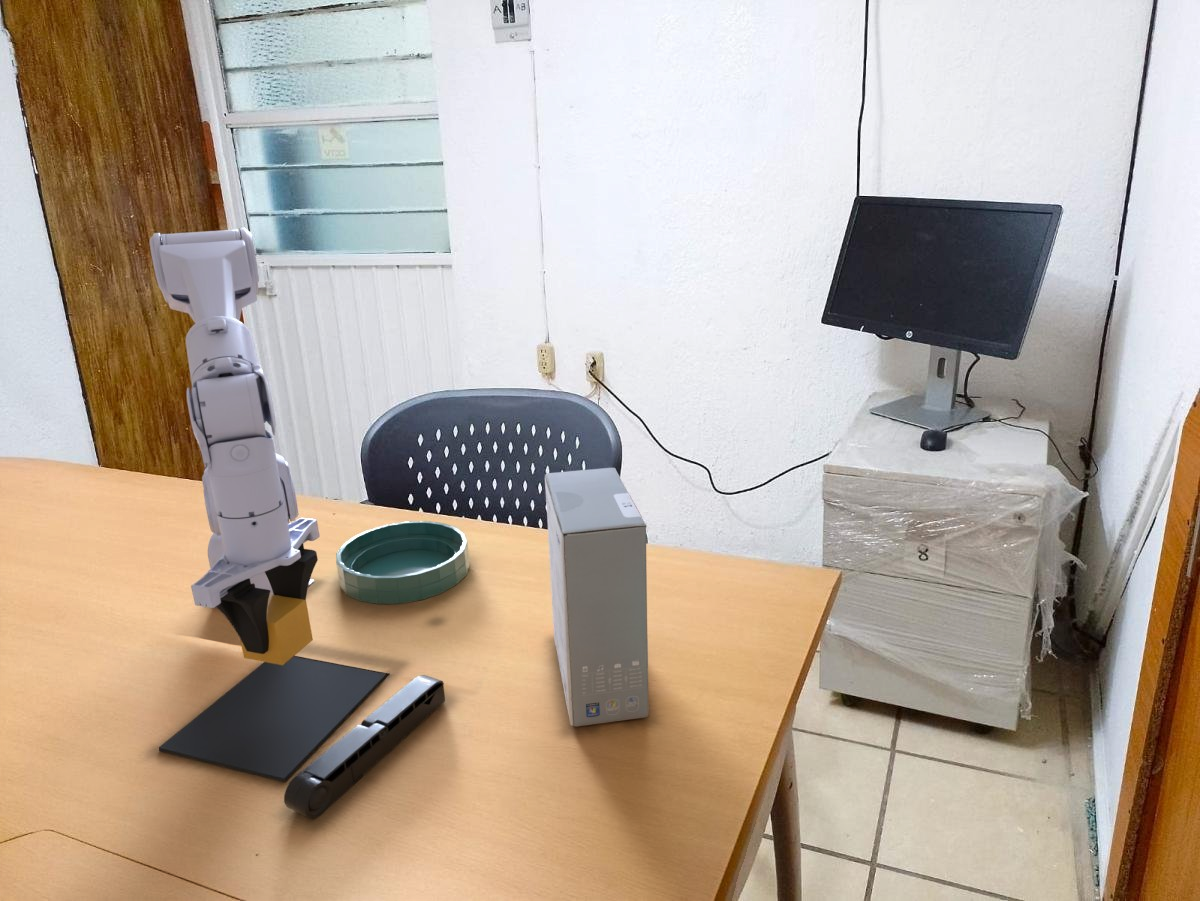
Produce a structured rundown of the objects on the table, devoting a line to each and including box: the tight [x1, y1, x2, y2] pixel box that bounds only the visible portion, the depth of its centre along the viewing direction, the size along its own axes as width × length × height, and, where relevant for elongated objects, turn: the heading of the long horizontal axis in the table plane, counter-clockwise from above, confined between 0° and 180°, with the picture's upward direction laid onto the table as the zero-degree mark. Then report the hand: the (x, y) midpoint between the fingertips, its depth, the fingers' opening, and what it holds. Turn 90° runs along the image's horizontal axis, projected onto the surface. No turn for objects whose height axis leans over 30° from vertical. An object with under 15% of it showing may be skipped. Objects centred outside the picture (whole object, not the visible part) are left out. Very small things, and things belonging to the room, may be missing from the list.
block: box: [239, 594, 314, 665], centre depth 79 cm, size 4×4×4 cm
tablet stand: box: [283, 674, 446, 819], centre depth 74 cm, size 18×3×3 cm, turn 152°
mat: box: [158, 655, 390, 783], centre depth 82 cm, size 14×18×1 cm
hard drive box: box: [544, 467, 649, 728], centre depth 81 cm, size 16×8×20 cm, turn 9°
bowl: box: [335, 520, 471, 605], centre depth 106 cm, size 16×16×4 cm
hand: (275, 636), depth 79 cm, fingers closed on block, 4 cm apart
